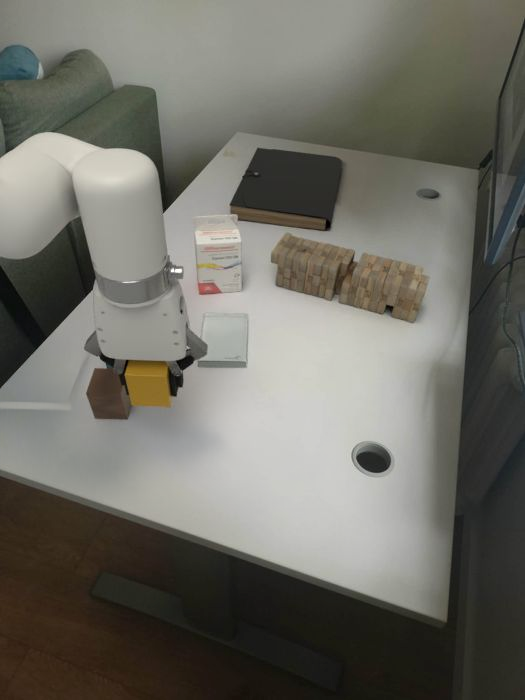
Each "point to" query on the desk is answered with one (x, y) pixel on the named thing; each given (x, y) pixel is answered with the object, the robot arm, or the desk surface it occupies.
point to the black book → (288, 189)
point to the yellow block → (148, 383)
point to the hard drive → (225, 340)
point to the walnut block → (108, 395)
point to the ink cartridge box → (218, 254)
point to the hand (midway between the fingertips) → (153, 386)
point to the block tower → (349, 276)
